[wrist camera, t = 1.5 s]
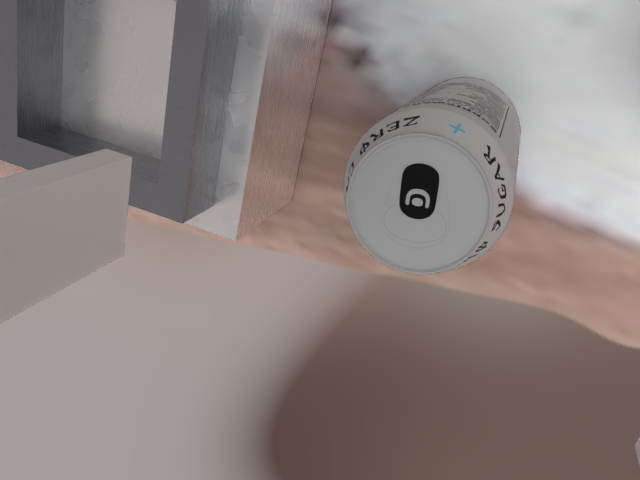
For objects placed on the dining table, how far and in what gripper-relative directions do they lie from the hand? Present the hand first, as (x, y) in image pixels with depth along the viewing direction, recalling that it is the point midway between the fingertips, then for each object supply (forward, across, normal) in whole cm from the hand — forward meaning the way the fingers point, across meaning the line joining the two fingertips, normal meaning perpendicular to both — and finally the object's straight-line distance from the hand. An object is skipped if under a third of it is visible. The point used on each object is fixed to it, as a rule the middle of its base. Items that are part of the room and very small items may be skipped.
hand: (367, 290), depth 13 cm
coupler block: (+22, -16, 0) cm, 27 cm away
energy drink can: (+22, 0, 0) cm, 22 cm away
